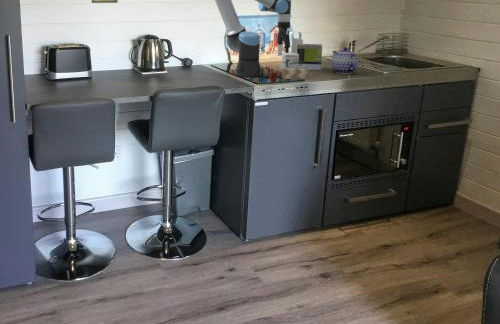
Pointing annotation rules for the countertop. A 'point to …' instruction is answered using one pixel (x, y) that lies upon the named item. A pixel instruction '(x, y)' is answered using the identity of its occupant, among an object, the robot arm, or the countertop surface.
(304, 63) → the tea box
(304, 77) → the batten
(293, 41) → the grater
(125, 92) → the countertop surface
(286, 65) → the ink box
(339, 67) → the teapot
